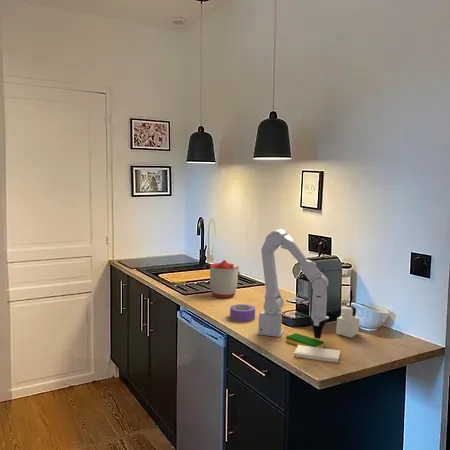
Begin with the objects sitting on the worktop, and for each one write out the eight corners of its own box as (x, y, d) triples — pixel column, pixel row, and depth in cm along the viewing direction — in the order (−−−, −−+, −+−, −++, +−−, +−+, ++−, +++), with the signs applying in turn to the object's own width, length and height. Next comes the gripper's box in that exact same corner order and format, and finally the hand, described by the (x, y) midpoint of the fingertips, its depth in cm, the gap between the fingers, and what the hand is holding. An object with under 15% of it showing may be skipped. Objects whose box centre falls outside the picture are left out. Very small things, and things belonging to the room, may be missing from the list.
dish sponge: (314, 351, 184) (314, 345, 184) (285, 342, 194) (285, 336, 193) (324, 347, 189) (324, 341, 189) (295, 338, 199) (296, 332, 198)
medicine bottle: (343, 330, 210) (344, 303, 209) (358, 333, 206) (360, 306, 204) (335, 334, 205) (337, 306, 203) (351, 337, 200) (353, 309, 199)
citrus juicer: (245, 298, 260) (246, 261, 258) (216, 300, 253) (217, 263, 251) (232, 291, 274) (233, 256, 272) (204, 293, 267) (205, 258, 265)
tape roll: (238, 323, 216) (238, 312, 216) (225, 316, 226) (225, 305, 226) (259, 319, 222) (260, 309, 222) (246, 313, 232) (246, 303, 232)
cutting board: (294, 356, 177) (294, 352, 177) (297, 348, 186) (298, 344, 186) (338, 362, 173) (338, 358, 172) (340, 354, 181) (340, 350, 181)
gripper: (327, 311, 186) (325, 345, 188) (331, 302, 200) (329, 333, 201) (309, 309, 188) (307, 342, 190) (314, 300, 202) (312, 331, 204)
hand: (317, 337), depth 196 cm, fingers closed
